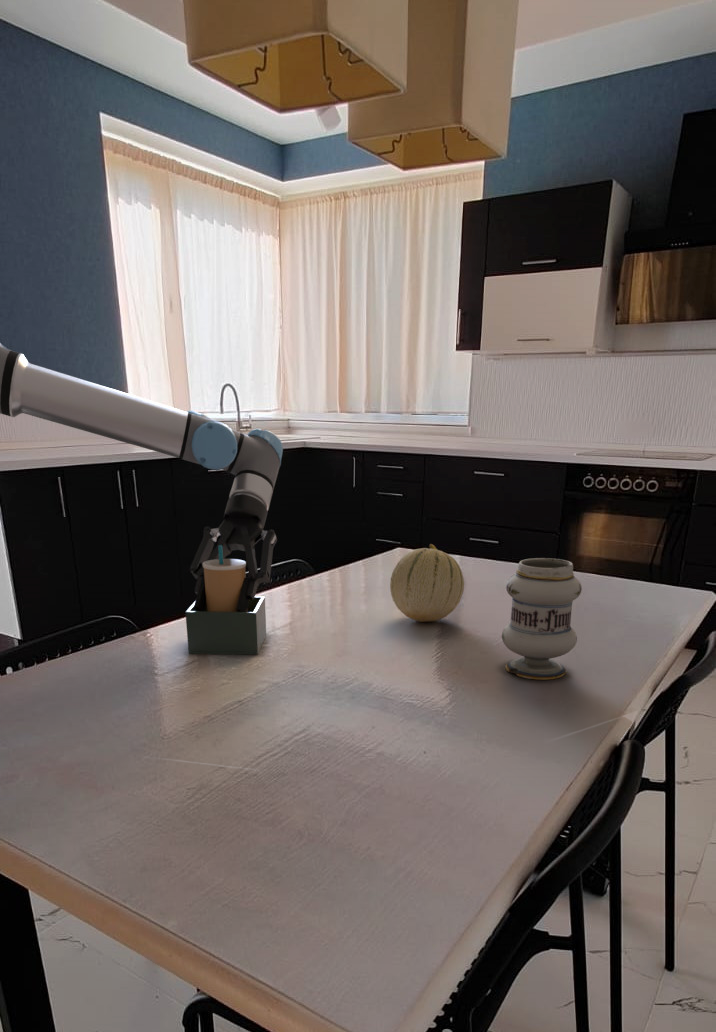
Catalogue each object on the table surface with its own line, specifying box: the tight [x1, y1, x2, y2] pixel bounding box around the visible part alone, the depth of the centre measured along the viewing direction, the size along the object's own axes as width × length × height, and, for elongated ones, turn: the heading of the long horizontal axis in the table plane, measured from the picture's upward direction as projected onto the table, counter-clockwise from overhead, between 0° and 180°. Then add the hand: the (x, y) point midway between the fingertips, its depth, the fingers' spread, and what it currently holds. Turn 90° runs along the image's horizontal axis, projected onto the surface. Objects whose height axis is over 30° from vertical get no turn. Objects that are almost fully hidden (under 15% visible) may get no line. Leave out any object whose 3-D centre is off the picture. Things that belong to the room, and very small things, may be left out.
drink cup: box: [203, 545, 247, 612], centre depth 137 cm, size 8×8×15 cm
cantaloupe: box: [389, 543, 465, 623], centre depth 155 cm, size 15×15×15 cm
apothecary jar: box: [501, 557, 583, 681], centre depth 125 cm, size 12×12×18 cm
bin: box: [185, 595, 267, 656], centre depth 139 cm, size 12×12×8 cm
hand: (219, 612), depth 135 cm, fingers closed on drink cup, 7 cm apart
